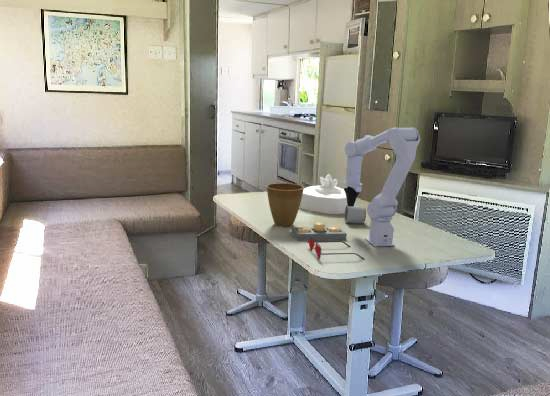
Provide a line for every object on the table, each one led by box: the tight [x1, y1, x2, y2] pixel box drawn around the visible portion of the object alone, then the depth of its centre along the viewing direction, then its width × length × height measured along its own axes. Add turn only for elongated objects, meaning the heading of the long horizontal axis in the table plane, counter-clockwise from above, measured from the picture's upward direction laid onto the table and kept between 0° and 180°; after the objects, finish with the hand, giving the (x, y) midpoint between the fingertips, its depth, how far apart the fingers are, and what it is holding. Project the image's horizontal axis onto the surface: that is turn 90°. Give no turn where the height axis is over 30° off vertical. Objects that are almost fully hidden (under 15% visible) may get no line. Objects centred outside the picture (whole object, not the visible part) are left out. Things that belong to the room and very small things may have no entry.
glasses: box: [306, 237, 365, 261], centre depth 174 cm, size 14×16×5 cm
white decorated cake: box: [299, 173, 357, 215], centre depth 241 cm, size 25×25×16 cm
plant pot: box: [266, 182, 305, 228], centre depth 205 cm, size 15×15×16 cm
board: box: [289, 226, 348, 241], centre depth 194 cm, size 13×19×2 cm
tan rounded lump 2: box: [328, 226, 341, 232], centre depth 194 cm, size 4×4×3 cm
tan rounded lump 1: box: [312, 221, 326, 232], centre depth 192 cm, size 4×4×3 cm
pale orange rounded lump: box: [298, 226, 310, 233], centre depth 191 cm, size 4×4×3 cm
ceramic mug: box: [344, 205, 367, 225], centre depth 216 cm, size 11×8×8 cm
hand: (350, 206), depth 201 cm, fingers closed
